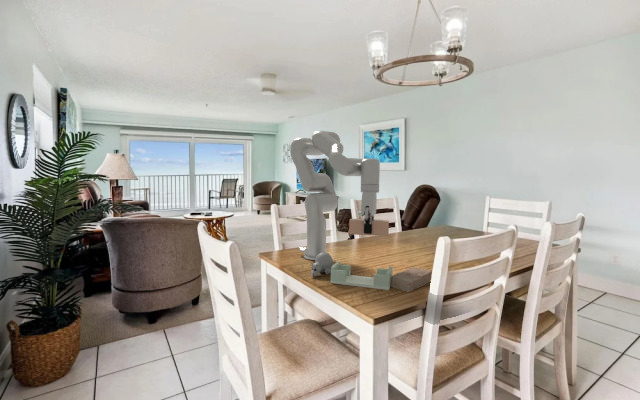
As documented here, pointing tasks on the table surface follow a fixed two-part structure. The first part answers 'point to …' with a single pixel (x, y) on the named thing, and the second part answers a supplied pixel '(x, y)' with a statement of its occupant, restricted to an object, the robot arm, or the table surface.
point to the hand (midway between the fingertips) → (369, 231)
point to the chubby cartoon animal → (322, 264)
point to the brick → (411, 279)
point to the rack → (361, 277)
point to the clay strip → (377, 227)
